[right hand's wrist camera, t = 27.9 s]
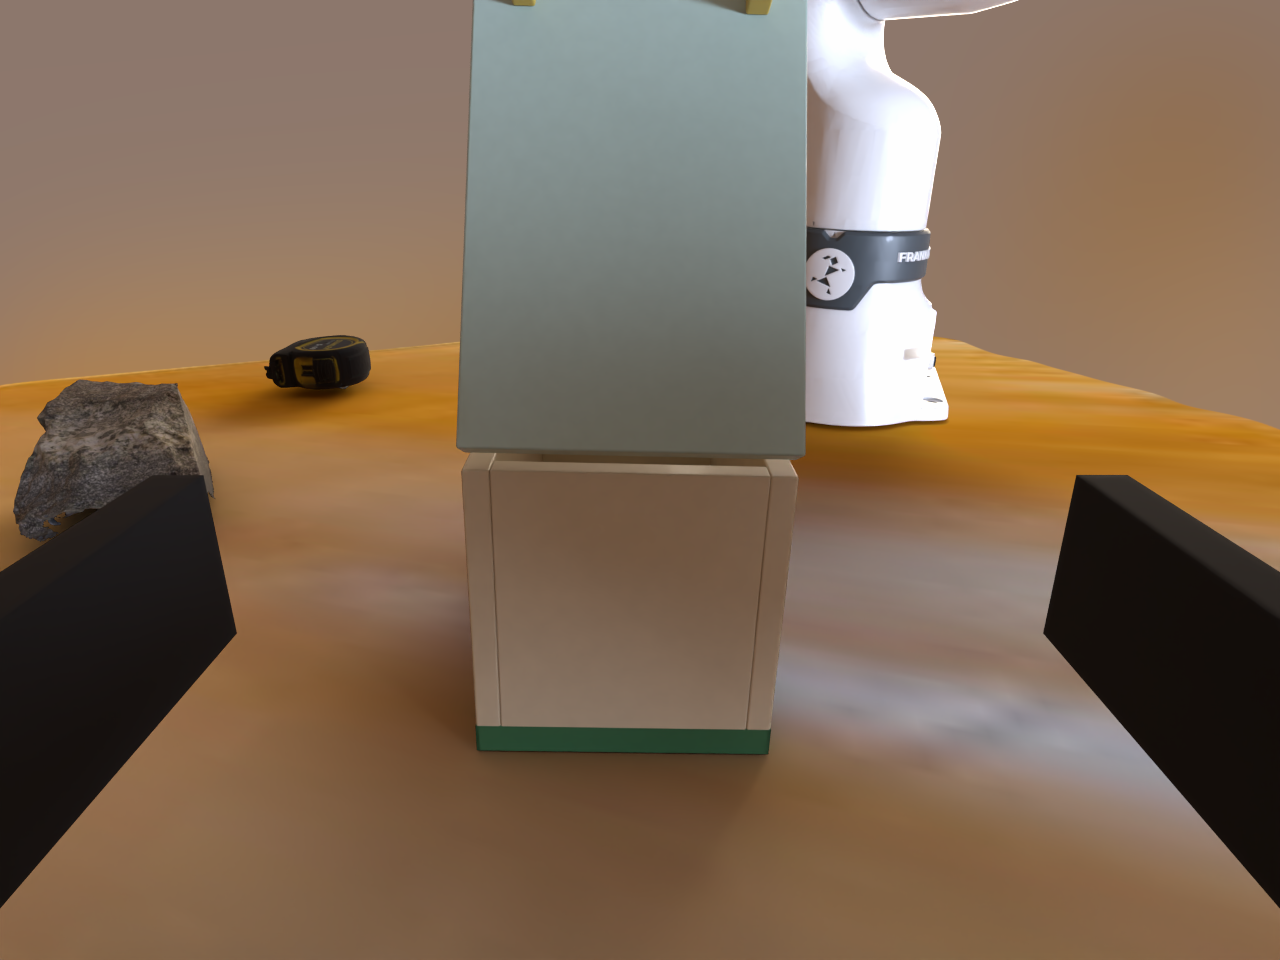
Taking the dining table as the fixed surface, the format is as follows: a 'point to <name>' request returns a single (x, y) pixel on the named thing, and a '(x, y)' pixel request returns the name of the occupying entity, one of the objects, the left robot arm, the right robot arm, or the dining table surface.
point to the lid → (635, 229)
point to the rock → (105, 449)
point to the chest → (626, 600)
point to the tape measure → (321, 363)
